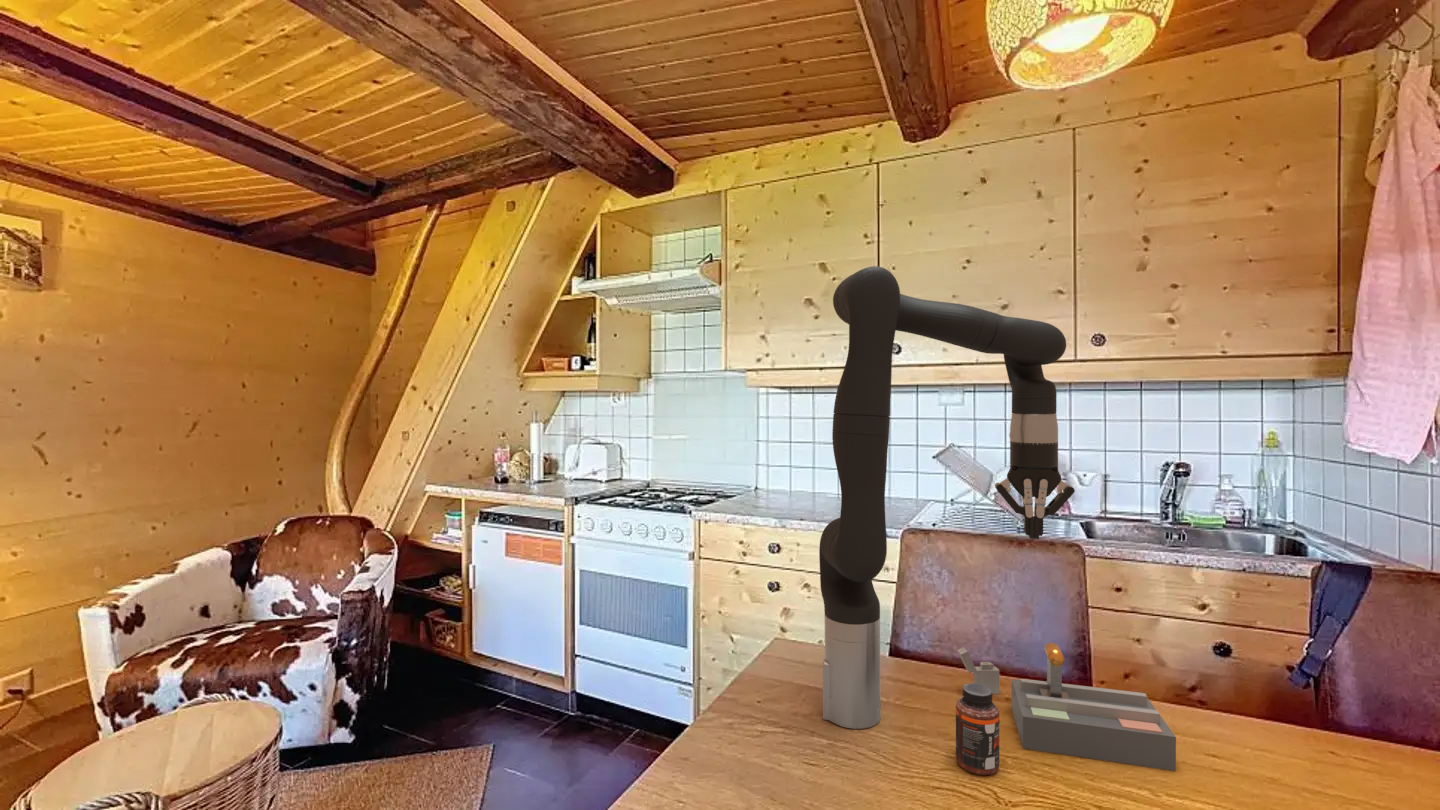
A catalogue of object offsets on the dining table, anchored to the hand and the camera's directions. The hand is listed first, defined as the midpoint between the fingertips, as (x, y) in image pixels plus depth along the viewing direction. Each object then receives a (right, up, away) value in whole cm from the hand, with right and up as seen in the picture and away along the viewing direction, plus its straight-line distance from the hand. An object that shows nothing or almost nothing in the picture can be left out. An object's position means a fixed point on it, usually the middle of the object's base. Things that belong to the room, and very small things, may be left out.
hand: (1033, 537), depth 110 cm
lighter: (-8, -29, +4) cm, 31 cm away
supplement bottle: (-17, -30, -18) cm, 39 cm away
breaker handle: (-1, -24, -9) cm, 26 cm away
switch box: (+3, -29, -11) cm, 31 cm away
